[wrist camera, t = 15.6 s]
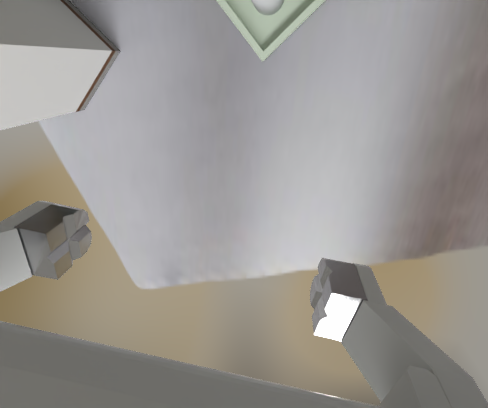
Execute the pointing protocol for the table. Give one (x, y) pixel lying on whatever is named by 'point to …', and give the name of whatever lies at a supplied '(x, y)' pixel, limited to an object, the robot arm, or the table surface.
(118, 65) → the table surface
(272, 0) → the gray bottle
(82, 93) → the notched white block
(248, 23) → the tray
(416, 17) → the table surface
